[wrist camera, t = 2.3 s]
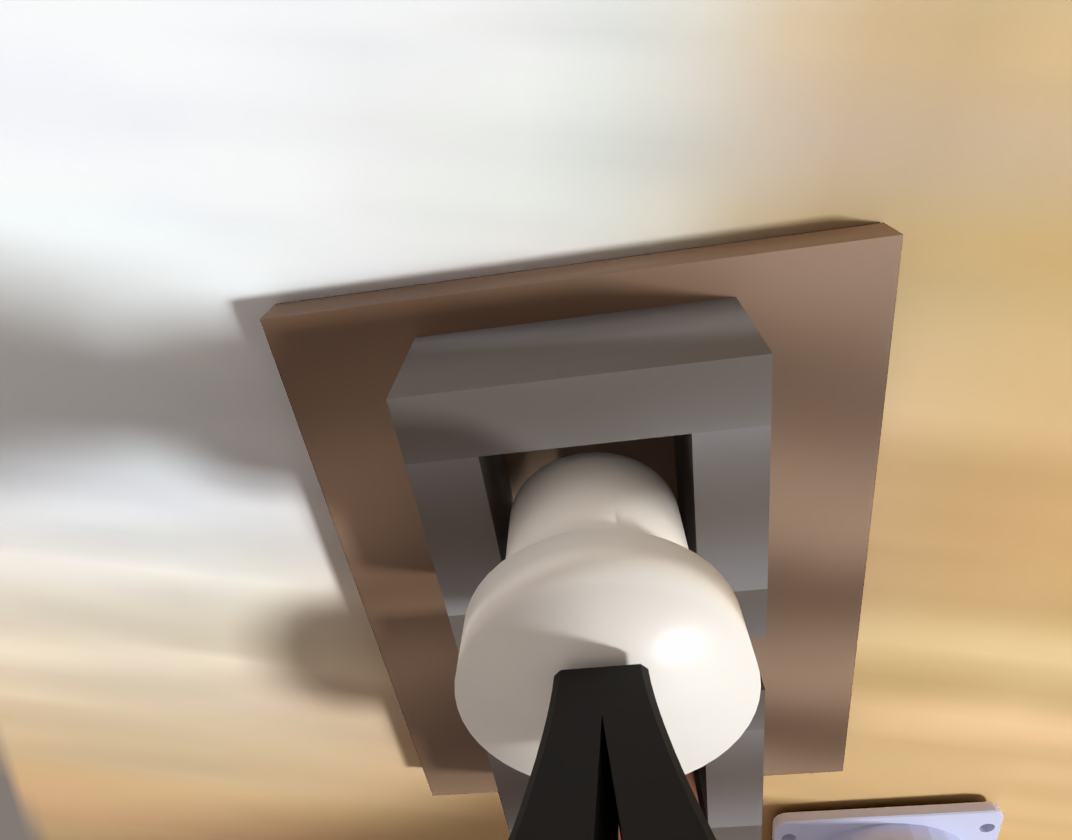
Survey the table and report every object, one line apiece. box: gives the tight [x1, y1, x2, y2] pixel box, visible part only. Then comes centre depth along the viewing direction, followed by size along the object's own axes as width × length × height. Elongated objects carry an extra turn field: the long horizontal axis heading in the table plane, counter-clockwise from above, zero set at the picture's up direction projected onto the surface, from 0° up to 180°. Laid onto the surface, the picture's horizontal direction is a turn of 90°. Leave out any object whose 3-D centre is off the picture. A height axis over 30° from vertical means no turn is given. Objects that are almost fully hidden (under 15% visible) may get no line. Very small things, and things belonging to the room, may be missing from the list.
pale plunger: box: [455, 452, 761, 776], centre depth 13 cm, size 5×5×4 cm
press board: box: [260, 223, 903, 840], centre depth 19 cm, size 18×14×4 cm
